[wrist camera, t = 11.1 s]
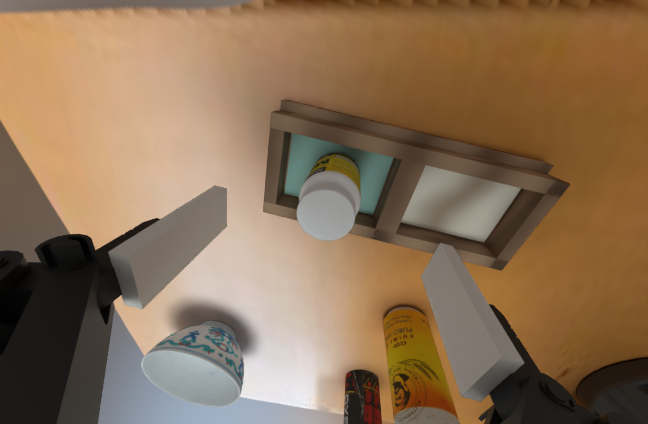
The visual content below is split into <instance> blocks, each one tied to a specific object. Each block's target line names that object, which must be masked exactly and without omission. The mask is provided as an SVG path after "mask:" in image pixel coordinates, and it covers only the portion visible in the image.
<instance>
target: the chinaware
mask: <svg viewBox="0 0 648 424" xmlns="http://www.w3.org/2000/svg"><path fill="white" fill-rule="evenodd" d="M236 339H237V337H236V334H235V332H234V331H233V330H232V329H231V328H230V327H229V326H227V325H225V324H223V323H221V322H217V321H206V322H203V323H202V324H201V325H196V326H191V327H187V328H184V329H181V330H179V331H177V332H175V333H173V334H171V335H170V336H168V337H166V338H165V339H164V340H162V341H161V342H160V343H158V344H157V345H156V346H155V347H154V348H152V349H151V350H150V351H149V352H148V353H147V354H146V355H145V356H144V358H143V360H142V363H141V366H142V370H143V372H144V373H145V375H146V376H147V378H148V379H149V380H150V381H151V382H152V383H153V384H155V385H156V386H157V387H158V388H160V389H162V390H163V391H165V392H167V393H168V394H170V395H172V396H174V397H176V398H178V399H181V400H184V401H186V402H189V403H193V404H197V405H202V406H209V407H223V406H228V405H231V404H233V403H235V402H236V401H237V400H238V399H239V397H240V394H241V390H242V384H243V377H244V362H243V356H242V352H241V350H240V347H239V345H238V343H237V342H236Z"/></svg>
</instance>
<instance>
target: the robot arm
mask: <svg viewBox="0 0 648 424" xmlns="http://www.w3.org/2000/svg"><path fill="white" fill-rule="evenodd" d="M226 227H227V188H223V187H219V186H213V187H212V188H210V189H208V190H207V191H205V192H204V193H202V194H200V195H199V196H197V197H196V198H194V199H192V200H191V201H189V202H188V203H186V204H184V205H183V206H181V207H180V208H178V209H176V210H175V211H173V212H171V213H170V214H168V215H167V216H165V217H163V218H162V219H158V218H155V219H152V220H149V221H146V222H143V223H141V224H140V225H138V226H136V227H135V228H133V230H132V229H131V230H130V231H128V232H126V233H125V234H124V235H121V236H119V237H118V238H116V239H114V240H112V241H111V242H109V243H107V244H106V245H104V246H102V247H101V248H99V249H97V250H95V248H94V245H93V242H92V239H91V238H90V237H89V236H87V235H82V234H69V235H63V236H58V237H55V238H52V239H49V240H47V241H45V242H43V243H41V244H40V245H39V246H38V247H36V249H35V251H36V253H37V255H38V257H39V259H40V261H41V263H38V262H35V263H34V262H27V261H26V259H25V257H24V255H23V253H20V252H18V251H0V424H98V418H99V410H100V404H101V397H102V390H103V384H104V377H105V370H106V363H107V356H108V349H109V342H110V335H111V328H112V321H113V315H114V308H115V307H114V303H113V301H114V300H115V299H117V298H118V297H119V296H120V295H122V298H123V301H124V304H125V305H128V306H132V307H136V308H139V309H143V308H144V307H145V306H146V305H147V304H148V303H149V302H150V301H151V300H152V299H153V298H154V297H155V296H156V295H157V294H158V293H160V292H161V291H162V290H163V289H164V288H165V287H166V286H167V285H168V284H169V283H170V282H171V281H172V280H173V279H174V278H175V277H176V276H177V275H178V274H179V273H180V272H181V271H182V270H183V269H184V268H185V267H186V266H187V265H188V264H189V263H190V262H191V261H192V260H193V259H194V258H195V257H196V256H197V255H198V254H199V253H200V252H201V251H202V250H203V249H204V248H205V247H206V246H207V245H208V244H209V243H210V242H211V241H212V240H213V239H214V238H215V237H216V236H217V235H218V234H219V233H220V232H222V231H223V230H224V229H225V228H226ZM421 278H422V281H423V284H424V287H425V290H426V293H427V296H428V299H429V302H430V305H431V308H432V311H433V314H434V317H435V320H436V323H437V326H438V329H439V332H440V335H441V338H442V341H443V344H444V347H445V350H446V353H447V356H448V359H449V362H450V365H451V368H452V371H453V374H454V376H455V379H456V382H457V385H458V388H459V391H460V394H461V396H462V397H466V398H469V399H473V400H477V401H480V402H481V401H482V400H483V399H484V398H485V397H486V396H487V395H489V394H490V396H491V398H492V401H493V403H494V405H493V406H492V407H490V408H489V409H488V410H487V411H485V412H484V413H483V414H482V415H481V416H480V417H479V418H478V419H479V420H481V421H482V420H484V419H485V418H486V420H485V423H484V424H648V359H641V360H634V361H629V362H624V363H620V364H617V365H613V366H610V367H607V368H605V369H602V370H600V371H598V372H596V373H594V374H592V375H591V376H589V377H588V378H586V379H585V380H584V381H583V382H582V383H581V384H580V385H579V387H578V389H577V397H578V399H579V400H580V402H581V403H582V404H583V406H584V407H585V408H583V407H582V406H580V405H578V404H577V403H576V402H575V400H574V399H573V397H572V396H571V395H570V394H569V393H568V391H567V390H566V389H565V388H564V387H563V386H562V385H560V384H559V383H558V382H557V381H556V380H554V379H552V378H551V377H549V376H548V375H546V374H543V373H541V372H540V371H539V369H538V368H537V366H536V365H535V363H534V361H533V360H532V358H531V357H530V355H529V354H528V352H527V351H526V349H525V348H524V346H523V345H522V343H521V341H520V340H519V338H517V337H516V336H517V335H516V334H515V332H514V331H513V329H511V326H510V325H509V323H508V321H507V320H506V318H505V317H504V315H503V314H502V313H501V312H500V311H499V310H498V309H497V308H496V307H495V306H494V305H490V304H488V303H487V301H486V299H485V298H484V296H483V294H482V293H481V291H480V290H479V288H478V286H477V285H476V283H475V281H474V280H473V278H472V276H471V275H470V273H469V272H468V270H467V268H466V267H465V265H464V263H463V262H462V260H461V259H460V257H459V255H458V254H457V252H456V250H455V249H454V247H453V246H450V245H447V244H443V243H440V244H439V246H438V247H437V249H436V251H435V253H434V255H433V256H432V258H431V260H430V262H429V264H428V265H427V267H426V269H425V271H424V272H423V274H422V276H421Z"/></svg>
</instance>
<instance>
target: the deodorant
mask: <svg viewBox="0 0 648 424" xmlns="http://www.w3.org/2000/svg"><path fill="white" fill-rule="evenodd" d="M344 424H382V419H381V406H380V392H379V379H378V377H377V376H376V375H375V374H374V373H372V372H369V371H366V370H353V371H350V372H349V373H347V374H346V380H345V406H344Z"/></svg>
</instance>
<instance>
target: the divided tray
mask: <svg viewBox="0 0 648 424" xmlns="http://www.w3.org/2000/svg"><path fill="white" fill-rule="evenodd" d="M331 152H341V153H344V154H347V155H348V156H350V157H351V158H353V159H354V160H355V162H356V163H357V165H358V167H359V170H360V185H361V205H360V208H359V211H358V213H357V215H356V216H355V222H354V225H353V227H352V229H351V230H350V231H349V233H351V234H355V235H359V236H363V237H367V238H371V239H375V240H379V241H383V242H387V243H391V244H395V245H399V246H403V247H408V248H412V249H416V250H420V251H424V252H428V253H432V254H434V253H435V251H436V249H437V247H438V246H439V244H440V243H443V244H447V245H450V246H453V247H454V249H455V250H456V252H457V254H458V255H459V257H460V259H461V260H462V261H464V262H469V263H473V264H477V265H481V266H485V267H489V268H493V269H497V270H501V271H502V269H503V268H504V267H505V266H506V264H507V263H508V262H509V261H510V259H511V258H512V257H513V256H514V254H515V253H516V252H517V251H518V249H519V248H520V247H521V246H522V244H523V243H524V242H525V241H526V239H527V238H528V237H529V236H530V234H531V233H532V232H533V231H534V229H535V228H536V227H537V226H538V224H539V223H540V222H541V221H542V219H543V218H544V217H545V216H546V214H547V213H548V212H549V211H550V209H551V208H552V207H553V206H554V204H555V203H556V202H557V201H558V199H559V198H560V197H561V196H562V194H563V193H564V192H565V190H566V189H567V188H568V187H569V185H570V184H569V183H567V182H564V181H562V180H560V179H558V178H555V177H553V176H551V175H549V174H548V172H549V171H550V170H551V168H552V167H553V166H554V165H551V164H549V163H546V162H543V161H539V160H535V159H531V158H526V157H522V156H518V155H514V154H510V153H506V152H501V151H497V150H493V149H489V148H485V147H481V146H476V145H472V144H468V143H464V142H460V141H456V140H451V139H447V138H443V137H439V136H435V135H431V134H426V133H422V132H418V131H414V130H410V129H406V128H401V127H397V126H393V125H389V124H385V123H381V122H376V121H372V120H368V119H364V118H360V117H356V116H351V115H347V114H343V113H339V112H335V111H331V110H326V109H322V108H318V107H314V106H310V105H305V104H301V103H297V102H293V101H289V100H282V101H281V110H278V111H274V112H271V123H270V135H269V147H268V158H267V170H266V182H265V193H264V205H263V212H265V213H269V214H273V215H277V216H281V217H286V218H290V219H294V220H297V207H298V204H299V194H300V191H301V188H302V185H303V184H304V182H305V180H306V179H307V177H308V175H309V173H310V171H311V170H312V168H313V166H314V165H315V163H316V162H317V160H318V159H319V158H320V157H322V156H323V155H325V154H327V153H331Z"/></svg>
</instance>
